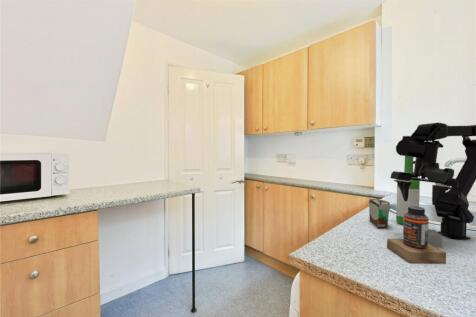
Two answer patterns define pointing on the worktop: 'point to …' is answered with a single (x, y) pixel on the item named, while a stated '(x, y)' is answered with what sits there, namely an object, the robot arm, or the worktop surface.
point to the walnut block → (416, 252)
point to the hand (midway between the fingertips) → (419, 203)
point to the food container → (379, 212)
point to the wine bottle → (412, 196)
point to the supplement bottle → (415, 227)
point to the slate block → (434, 238)
